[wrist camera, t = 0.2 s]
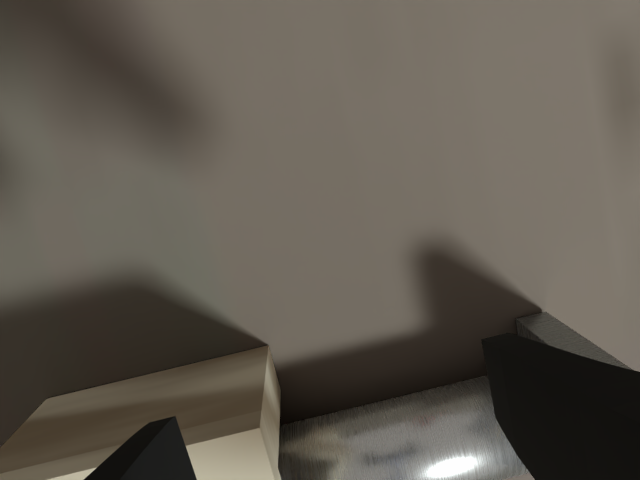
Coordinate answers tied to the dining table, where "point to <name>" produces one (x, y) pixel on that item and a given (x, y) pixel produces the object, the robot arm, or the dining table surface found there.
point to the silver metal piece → (421, 428)
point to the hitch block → (155, 404)
